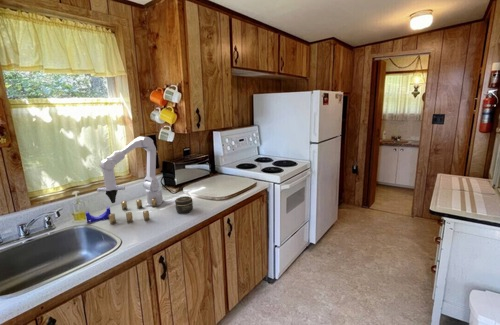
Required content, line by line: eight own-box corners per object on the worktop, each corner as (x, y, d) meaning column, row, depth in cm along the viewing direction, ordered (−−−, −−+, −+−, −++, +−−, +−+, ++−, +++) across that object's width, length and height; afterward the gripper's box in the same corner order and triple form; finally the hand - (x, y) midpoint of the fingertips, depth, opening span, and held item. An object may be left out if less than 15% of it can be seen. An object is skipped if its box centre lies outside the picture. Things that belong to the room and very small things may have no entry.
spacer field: (157, 205, 167) (156, 198, 166) (149, 220, 145) (147, 212, 143) (123, 208, 164) (122, 201, 163) (109, 224, 142) (107, 216, 141)
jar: (174, 210, 158) (173, 198, 157) (190, 206, 163) (189, 195, 161) (178, 215, 150) (176, 203, 148) (195, 212, 154) (194, 199, 152)
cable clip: (110, 215, 155) (109, 206, 153) (111, 218, 151) (109, 208, 150) (87, 220, 149) (85, 211, 147) (87, 223, 145) (85, 213, 144)
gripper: (93, 183, 143) (97, 206, 146) (120, 181, 145) (124, 203, 148) (98, 179, 150) (102, 201, 153) (124, 177, 152) (128, 199, 155)
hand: (113, 202), depth 151 cm, fingers closed
